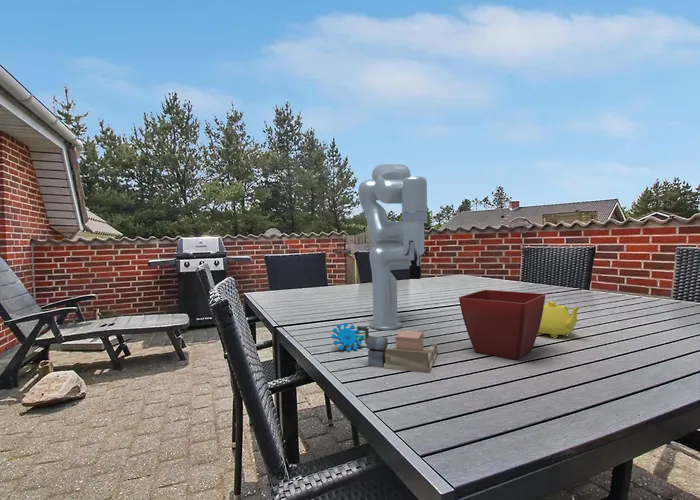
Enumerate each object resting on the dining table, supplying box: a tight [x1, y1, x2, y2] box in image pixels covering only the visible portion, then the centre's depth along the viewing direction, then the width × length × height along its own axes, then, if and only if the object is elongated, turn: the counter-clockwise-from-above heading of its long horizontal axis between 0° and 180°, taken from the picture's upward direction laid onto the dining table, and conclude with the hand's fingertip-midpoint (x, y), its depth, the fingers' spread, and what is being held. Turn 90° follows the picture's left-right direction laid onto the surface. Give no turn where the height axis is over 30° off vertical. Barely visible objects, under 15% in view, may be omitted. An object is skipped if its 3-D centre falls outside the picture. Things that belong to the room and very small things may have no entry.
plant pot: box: [458, 289, 546, 360], centre depth 113 cm, size 19×19×17 cm
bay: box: [356, 325, 439, 373], centre depth 108 cm, size 17×20×10 cm
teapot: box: [538, 301, 582, 339], centre depth 130 cm, size 20×15×12 cm
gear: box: [331, 322, 365, 352], centre depth 120 cm, size 11×6×10 cm
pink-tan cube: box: [395, 329, 424, 351], centre depth 103 cm, size 7×6×7 cm
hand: (415, 278), depth 115 cm, fingers closed
